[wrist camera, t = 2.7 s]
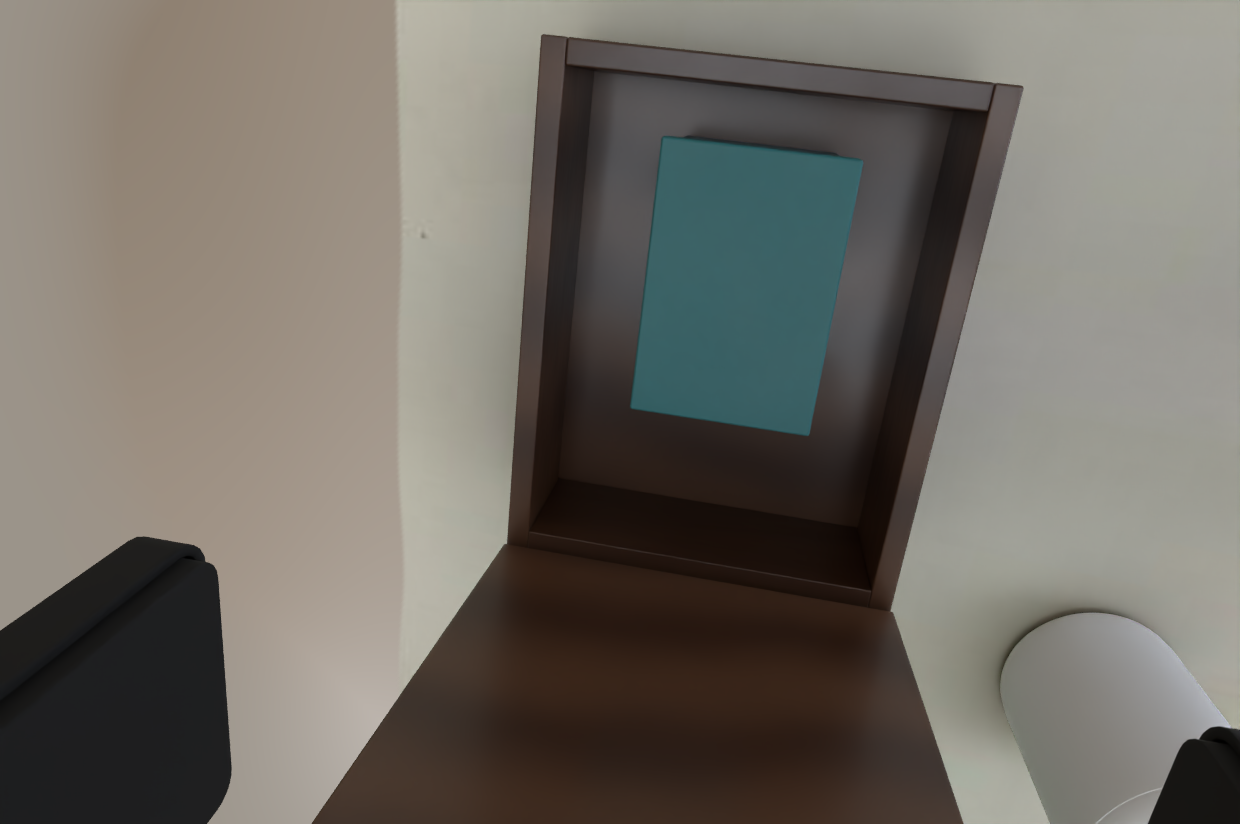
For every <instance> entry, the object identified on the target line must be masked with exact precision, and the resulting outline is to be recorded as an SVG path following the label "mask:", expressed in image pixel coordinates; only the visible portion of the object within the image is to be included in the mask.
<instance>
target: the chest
mask: <svg viewBox="0 0 1240 824" xmlns="http://www.w3.org/2000/svg"><path fill="white" fill-rule="evenodd" d="M1022 92H1023V86H1020V85H1011V84H1001V83H992V82H982V81H973V80H964V79H954V78H945V77H936V76H927V75H917V74H908V73H899V72H889V71H880V70H871V69H861V68H852V67H843V66H833V65H824V64H815V63H805V62H796V61H787V60H778V59H768V58H759V57H750V56H740V55H731V54H722V53H712V52H703V51H694V50H684V49H675V48H666V47H656V46H647V45H638V44H628V43H619V42H610V41H601V40H591V39H582V38H573V37H569V38H568V37H564V36H554V35H545V34H543V35H541V47H540V62H539V76H538V91H537V106H536V121H535V136H534V151H533V166H532V181H531V195H530V210H529V225H528V240H527V255H526V270H525V285H524V299H523V314H522V329H521V344H520V359H519V374H518V389H517V404H516V418H515V433H514V448H513V463H512V478H511V493H510V508H509V522H508V537H507V544H508V545H513V546H519V547H525V548H530V549H536V550H542V551H548V552H553V553H559V554H565V555H570V556H576V557H582V558H587V559H593V560H599V561H605V562H610V563H616V564H622V565H627V566H633V567H639V568H644V569H650V570H656V571H661V572H667V573H673V574H679V575H684V576H690V577H696V578H701V579H707V580H713V581H718V582H724V583H730V584H735V585H741V586H747V587H753V588H758V589H764V590H770V591H775V592H781V593H787V594H792V595H798V596H804V597H810V598H815V599H821V600H827V601H832V602H838V603H844V604H849V605H855V606H861V607H866V608H872V609H878V610H884V611H889V612H890V610H891V606H892V602H893V598H894V594H895V590H896V586H897V582H898V578H899V574H900V571H901V567H902V563H903V559H904V555H905V551H906V547H907V543H908V539H909V535H910V531H911V527H912V523H913V520H914V516H915V512H916V508H917V504H918V500H919V496H920V492H921V488H922V484H923V480H924V476H925V473H926V469H927V465H928V461H929V457H930V453H931V449H932V445H933V441H934V437H935V433H936V429H937V425H938V422H939V418H940V414H941V410H942V406H943V402H944V398H945V394H946V390H947V386H948V382H949V378H950V375H951V371H952V367H953V363H954V359H955V355H956V351H957V347H958V343H959V339H960V335H961V331H962V327H963V324H964V320H965V316H966V312H967V308H968V304H969V300H970V296H971V292H972V288H973V284H974V280H975V277H976V273H977V269H978V265H979V261H980V257H981V253H982V249H983V245H984V241H985V237H986V233H987V229H988V226H989V222H990V218H991V214H992V210H993V206H994V202H995V198H996V194H997V190H998V186H999V182H1000V179H1001V175H1002V171H1003V167H1004V163H1005V159H1006V155H1007V151H1008V147H1009V143H1010V139H1011V135H1012V132H1013V128H1014V124H1015V120H1016V116H1017V112H1018V108H1019V104H1020V100H1021V96H1022ZM688 135H689V136H697V137H706V138H714V139H723V140H731V141H739V142H748V143H756V144H765V145H773V146H782V147H790V148H799V149H807V150H815V151H824V152H832V153H837V154H838V155H840V156H843V157H852V158H859V159H861V160H863V167H862V172H861V177H860V182H859V187H858V192H857V197H856V202H855V207H854V212H853V217H852V222H851V227H850V232H849V237H848V242H847V247H846V252H845V257H844V262H843V267H842V273H841V278H840V283H839V288H838V293H837V298H836V303H835V308H834V313H833V318H832V323H831V328H830V333H829V338H828V343H827V348H826V353H825V358H824V363H823V368H822V373H821V378H820V383H819V388H818V393H817V398H816V403H815V408H814V413H813V418H812V423H811V428H810V433H809V435H808V436H803V435H796V434H790V433H783V432H777V431H771V430H764V429H758V428H751V427H745V426H738V425H732V424H725V423H719V422H712V421H706V420H700V419H693V418H687V417H680V416H674V415H667V414H661V413H654V412H648V411H642V410H635V409H631V408H630V402H631V394H632V385H633V377H634V368H635V360H636V351H637V343H638V334H639V326H640V317H641V309H642V300H643V292H644V283H645V275H646V266H647V258H648V249H649V241H650V232H651V223H652V215H653V206H654V198H655V189H656V181H657V172H658V164H659V155H660V147H661V139H662V137H663V136H675V137H685V136H688Z"/></svg>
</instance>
